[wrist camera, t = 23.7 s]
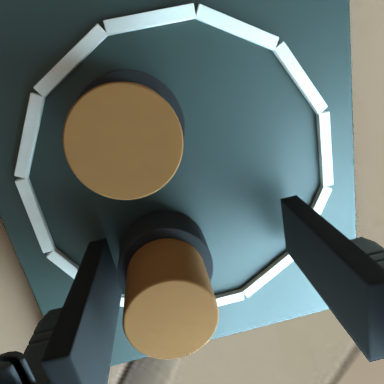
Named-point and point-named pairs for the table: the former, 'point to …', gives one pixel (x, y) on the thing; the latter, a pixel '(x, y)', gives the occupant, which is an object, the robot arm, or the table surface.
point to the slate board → (193, 143)
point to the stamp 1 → (124, 135)
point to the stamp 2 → (166, 285)
